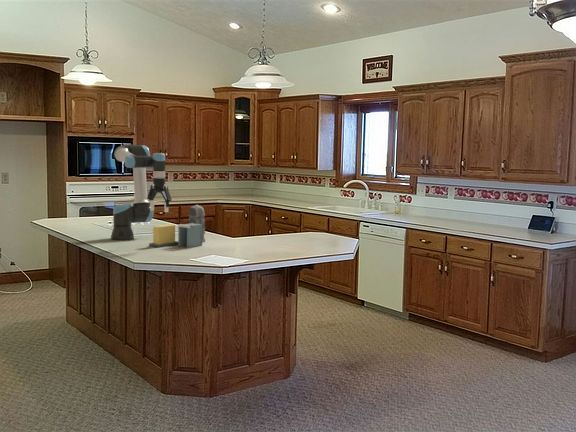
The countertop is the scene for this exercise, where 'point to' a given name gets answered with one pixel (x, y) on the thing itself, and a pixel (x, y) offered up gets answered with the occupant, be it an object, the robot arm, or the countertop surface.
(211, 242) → the countertop surface
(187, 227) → the dispenser
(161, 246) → the tray
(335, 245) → the countertop surface
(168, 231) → the yellow tall slab
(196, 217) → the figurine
